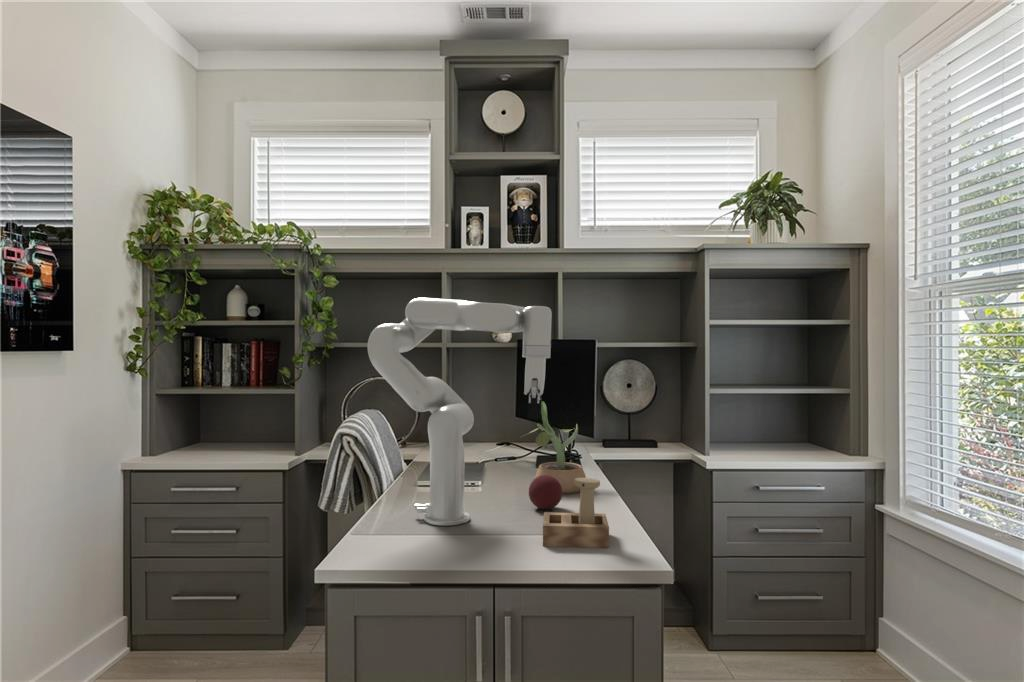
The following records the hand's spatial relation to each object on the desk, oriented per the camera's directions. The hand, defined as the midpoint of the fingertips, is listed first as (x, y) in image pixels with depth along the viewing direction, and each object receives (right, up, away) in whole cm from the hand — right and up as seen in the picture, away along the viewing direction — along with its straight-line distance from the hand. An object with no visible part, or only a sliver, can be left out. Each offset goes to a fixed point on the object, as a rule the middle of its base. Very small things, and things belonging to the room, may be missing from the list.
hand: (534, 416), depth 174 cm
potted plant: (+8, -30, +45) cm, 55 cm away
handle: (+13, -30, -10) cm, 34 cm away
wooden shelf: (+10, -30, -10) cm, 33 cm away
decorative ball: (+4, -30, +18) cm, 35 cm away
